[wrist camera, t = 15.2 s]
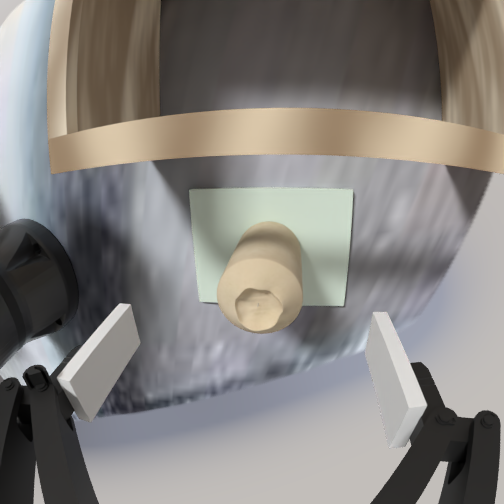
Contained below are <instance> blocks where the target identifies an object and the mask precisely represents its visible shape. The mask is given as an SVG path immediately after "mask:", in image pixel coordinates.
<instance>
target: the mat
mask: <svg viewBox="0 0 504 504" xmlns="http://www.w3.org/2000/svg"><path fill="white" fill-rule="evenodd" d="M189 198H190V211H191V223H192V235H193V245H194V256H195V265H196V275H197V284H198V293H199V301H200V302H214V303H218V301H217V287H218V283H219V281H220V278H221V276H222V274H223V272H224V270H225V268H226V266H227V264H228V262H229V260H230V258H231V256H232V254H233V252H234V250H235V248H236V246H237V244H238V242H239V240H240V239H241V237H242V235H243V234H244V233H245V231H246V230H248V229H249V228H250V227H251V226H253V225H255V224H257V223H260V222H266V221H271V222H277V223H280V224H283V225H284V226H286V227H288V228H289V229H290V230H291V231H292V232H293V233H294V234H295V236H296V237H297V239H298V241H299V244H300V249H301V263H302V284H303V303H302V306H344V299H345V291H346V282H347V272H348V262H349V250H350V238H351V223H352V206H353V189H335V188H285V187H253V188H203V189H190V190H189Z"/></svg>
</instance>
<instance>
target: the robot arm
mask: <svg viewBox="0 0 504 504" xmlns="http://www.w3.org/2000/svg"><path fill="white" fill-rule="evenodd" d="M77 306H78V287H77V281H76V277H75V274H74V271H73V268H72V265H71V263H70V261H69V259H68V257H67V255H66V253H65V251H64V249H63V248H62V246H61V245H60V243H59V242H58V241H57V239H56V238H55V237H54V236H53V235H52V234H51V233H50V232H49V231H48V230H47V229H46V228H45V227H44V226H42V225H41V224H39V223H37V222H35V221H33V220H30V219H19V220H17V221H14V222H12V223H10V224H8V225H6V226H4V227H3V228H2V229H0V369H1V368H2V367H3V366H4V364H5V363H6V362H7V361H8V360H9V359H10V358H11V357H12V356H13V355H14V354H15V353H16V352H17V351H18V350H19V349H20V348H21V347H22V346H23V345H25V344H26V343H28V342H30V341H33V340H36V339H38V338H41V337H44V336H46V335H49V334H52V333H54V332H57V331H59V330H60V329H62V328H63V327H64V326H65V325H66V324H67V323H68V322H69V321H70V320H71V319H72V318H73V317H74V315H75V313H76V310H77ZM139 345H140V339H139V335H138V331H137V327H136V323H135V319H134V315H133V311H132V307H131V304H122V303H119V305H118V306H117V307H116V308H115V309H114V310H113V311H112V312H111V314H110V315H109V316H108V317H107V318H106V319H105V320H104V322H103V323H102V324H101V325H100V326H99V327H98V328H97V330H96V331H95V332H94V333H93V334H92V335H91V337H90V338H89V339H88V340H87V341H86V342H85V344H84V345H83V346H81V345H79V346H77V347H76V348H74V349H73V350H71V352H70V353H69V354H68V355H67V356H66V358H65V359H64V360H63V361H62V362H61V363H60V365H59V366H58V367H57V368H56V369H55V371H54V372H53V373H52V374H51V375H50V376H49V374H48V372H47V370H46V368H45V367H44V366H42V365H34V366H31V367H29V368H28V369H26V370H25V372H24V373H23V379H24V380H25V382H26V384H27V386H21V384H20V382H19V381H18V379H16V378H13V377H11V378H7V379H5V380H4V381H3V382H1V384H0V504H33V497H34V478H35V465H36V462H37V468H38V473H39V478H40V483H41V489H42V493H43V497H44V502H45V504H99V503H98V500H97V497H96V495H95V492H94V490H93V486H92V484H91V481H90V478H89V475H88V471H87V468H86V465H85V462H84V458H83V455H82V452H81V448H80V444H79V440H78V437H77V433H76V428H75V424H74V420H73V418H72V416H71V415H72V413H73V412H74V411H75V413H76V415H77V416H78V418H79V419H82V420H85V421H88V422H92V420H93V419H94V417H95V416H96V414H97V412H98V411H99V409H100V407H101V406H102V404H103V402H104V401H105V399H106V398H107V396H108V394H109V393H110V391H111V389H112V388H113V386H114V385H115V383H116V381H117V380H118V378H119V376H120V375H121V373H122V372H123V370H124V369H125V367H126V365H127V364H128V362H129V361H130V359H131V357H132V356H133V354H134V353H135V351H136V350H137V348H138V347H139ZM365 356H366V359H367V363H368V367H369V370H370V374H371V378H372V381H373V385H374V389H375V393H376V397H377V401H378V405H379V409H380V413H381V417H382V421H383V425H384V430H385V434H386V438H387V443H388V448H389V449H391V448H397V447H404V446H406V444H407V442H408V441H409V439H410V441H411V447H410V449H409V450H408V452H407V454H406V455H405V457H404V458H403V460H402V461H401V463H400V464H399V466H398V467H397V469H396V470H395V471H394V473H393V474H392V476H391V477H390V479H389V480H388V481H387V483H386V484H385V485H384V487H383V488H382V490H381V491H380V492H379V493H378V495H377V496H376V497H375V498H374V500H373V501H372V502H371V503H370V504H416V502H417V500H418V499H419V498H420V496H421V494H422V493H423V491H424V489H425V488H426V486H427V484H428V482H429V481H430V479H431V477H432V475H433V474H434V472H435V470H436V468H437V466H438V464H439V462H440V461H446V462H448V467H447V472H446V476H445V480H444V484H443V488H442V492H441V496H440V500H439V503H438V504H495V497H496V490H497V481H498V471H499V458H500V419H499V418H498V416H497V415H496V414H495V413H493V412H491V411H481V412H479V413H478V414H477V415H476V416H475V418H462V417H457V415H456V413H455V412H454V411H453V410H451V409H449V408H446V407H445V405H444V403H443V401H442V398H441V396H440V394H439V391H438V389H437V387H436V385H435V383H434V380H433V378H432V376H431V374H430V372H429V370H428V368H427V367H426V366H425V365H424V364H422V363H421V362H416V363H410V362H409V360H408V357H407V355H406V353H405V351H404V348H403V346H402V344H401V342H400V339H399V337H398V335H397V333H396V331H395V329H394V326H393V324H392V322H391V320H390V318H389V316H388V314H387V312H373V315H372V320H371V326H370V331H369V335H368V340H367V345H366V350H365Z"/></svg>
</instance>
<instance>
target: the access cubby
mask: <svg viewBox="0 0 504 504" xmlns="http://www.w3.org/2000/svg"><path fill="white" fill-rule="evenodd" d="M430 5H431V10H432V15H433V21H434V27H435V34H436V41H437V49H438V58H439V68H440V81H441V98H442V121H439V120H433V119H427V118H420V117H413V116H406V115H398V114H390V113H380V112H370V111H358V110H343V109H322V108H254V109H233V110H218V111H205V112H195V113H185V114H176V115H168V116H161V117H160V87H159V43H160V10H161V0H55V5H54V12H53V19H52V26H51V35H50V45H49V57H48V76H47V125H48V144H49V157H50V168H51V174H56V173H61V172H67V171H73V170H80V169H86V168H93V167H100V166H108V165H116V164H124V163H132V162H142V161H152V160H163V159H175V158H189V157H205V156H225V155H262V154H300V155H337V156H357V157H373V158H386V159H398V160H409V161H418V162H427V163H436V164H444V165H451V166H458V167H465V168H471V169H478V170H484V171H490V172H495V173H501V174H504V0H430Z"/></svg>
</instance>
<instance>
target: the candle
mask: <svg viewBox="0 0 504 504" xmlns="http://www.w3.org/2000/svg"><path fill="white" fill-rule="evenodd" d="M217 301H218V304H219V307H220V309H221V311H222V313H223V314H224V316H225V317H226V318H227V319H228V320H229V321H230V322H231V323H232V324H234V325H235V326H237V327H239V328H240V329H243V330H245V331H248V332H252V333H260V334H264V333H272V332H276V331H279V330H281V329H283V328H285V327H287V326H288V325H290V324H291V323H292V322H293V321H294V320H295V319H296V317H297V316H298V314H299V312H300V310H301V308H302V303H303V284H302V263H301V249H300V244H299V241H298V239H297V237H296V236H295V234H294V233H293V232H292V231H291V230H290V229H289V228H288V227H286V226H284V225H283V224H280V223H277V222H271V221H266V222H260V223H257V224H255V225H253V226H251V227H250V228H249V229H248V230H246V231H245V233H244V234H243V235H242V237H241V239H240V240H239V242H238V244H237V246H236V248H235V250H234V252H233V254H232V256H231V258H230V260H229V262H228V264H227V266H226V268H225V270H224V272H223V274H222V276H221V278H220V281H219V283H218V287H217Z"/></svg>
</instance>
